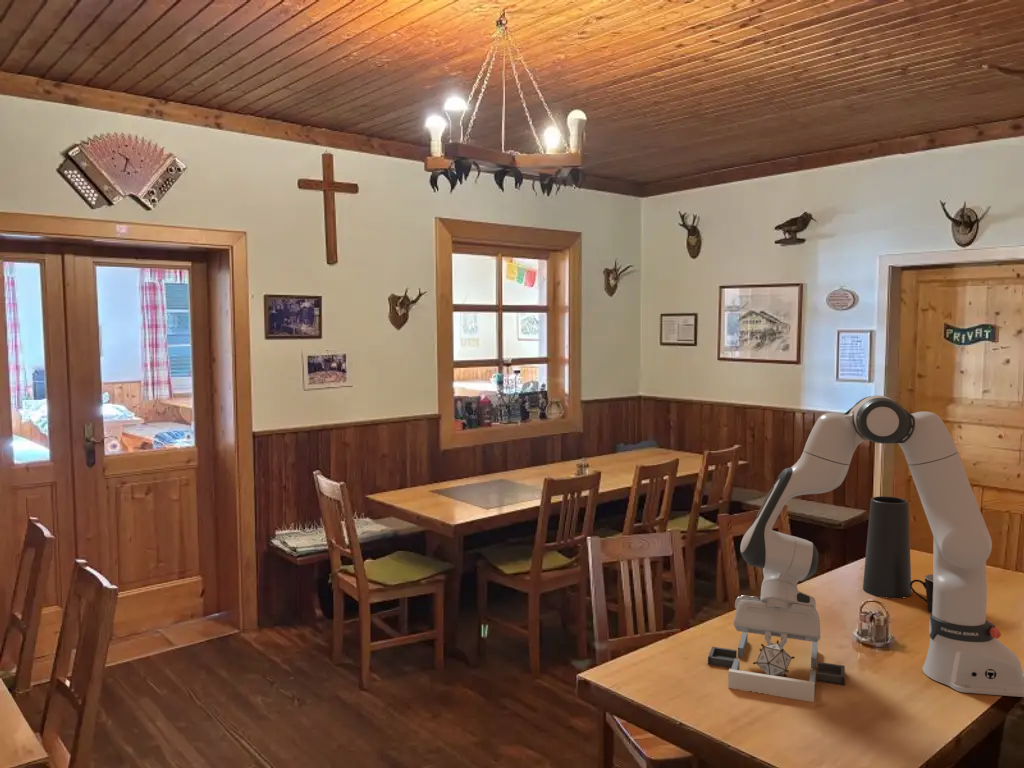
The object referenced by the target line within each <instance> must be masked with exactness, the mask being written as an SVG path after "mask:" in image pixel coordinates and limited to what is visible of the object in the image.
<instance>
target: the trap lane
mask: <svg viewBox="0 0 1024 768" xmlns="http://www.w3.org/2000/svg"><path fill="white" fill-rule="evenodd" d="M818 642H819V641H818ZM818 642H812V645H811V646H812V647H811V655H810V656H811V657H810V669H809V679H808V680H805V679H804V680H803V679H797V678H792V677H785V676H773V675H767V674H766V673H759V672H758V673H757V672H753V671H746V670H740V664H741V663H740V658H739V657H742V658H741V659H743V658H744V655H745V651H746V648H747V644H748V633H747V632H742V634H741V637H740V640H739V642H738V646H737V650H736V649H733V648H732V649H731V648H727V647H726V648H725V647H719V646H711V649H710V651H709V653H708V657H707V665H711V666H718V667H723V668H728V681H727V682H728V683H727V687H728V689H730V688H732V690H736V689H740V690H739V691H743V690H746V691H745V692H749V691H752V692H751V693H755V692H758V693H757V694H761V693H764V695H767V694H769V695H768V696H774V697H779V696H780V697H781V698H785V699H786V698H787V699H793V700H797V701H798V700H799V701H805V702H810V703H811V702H812V703H815V692H816V689H815V688H816V682H820V681H821V683H826V682H827V683H828V684H833V683H834V685H839V684H840V686H845V684H846V683H845V682H846V680H845V679H846V678H845V677H846V674H845V673H846V669H845V667H846V666H845V665H844V664H843V665H842V664H835V663H827V662H821V661H818V644H819V643H818ZM817 661H818V662H817ZM816 665H817V666H816ZM729 667H730V668H729ZM814 668H816V669H817V670H816V669H814Z"/></svg>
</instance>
